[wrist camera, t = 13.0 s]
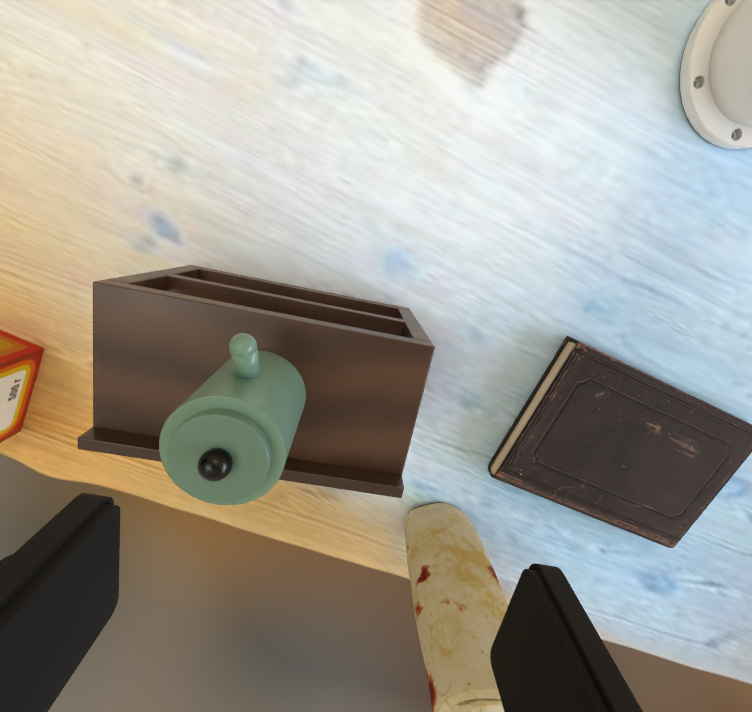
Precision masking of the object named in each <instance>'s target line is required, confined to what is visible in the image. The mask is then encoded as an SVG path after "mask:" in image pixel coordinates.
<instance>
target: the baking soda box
mask: <svg viewBox="0 0 752 712" xmlns="http://www.w3.org/2000/svg"><path fill="white" fill-rule="evenodd" d="M43 351H44V348H42V347H39V346H37V345H35V344H32V343H30V342H27V341H25V340H23V339H20V338H18V337H15V336H13V335H11V334H8V333H6V332H3V331H1V330H0V443H1V442H2V441H4V440H6V439H8V438H9V437H11V436H13V435H15V434H16V433H18V432H20V431H21V428H22V425H23V421H24V418H25V414H26V411H27V407H28V404H29V400H30V397H31V393H32V390H33V386H34V382H35V379H36V375H37V372H38V368H39V365H40V361H41V358H42V354H43Z"/></svg>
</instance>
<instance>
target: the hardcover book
mask: <svg viewBox="0 0 752 712" xmlns="http://www.w3.org/2000/svg"><path fill="white" fill-rule="evenodd" d="M751 452H752V425H751V424H749V423H747V422H745V421H743V420H741V419H739V418H737V417H735V416H732V415H730V414H728V413H726V412H724V411H722V410H720V409H718V408H716V407H714V406H712V405H710V404H708V403H705V402H703V401H701V400H699V399H697V398H695V397H693V396H691V395H689V394H687V393H685V392H683V391H681V390H678V389H676V388H674V387H672V386H670V385H668V384H666V383H664V382H662V381H660V380H658V379H656V378H654V377H651V376H649V375H647V374H645V373H643V372H641V371H639V370H637V369H635V368H633V367H631V366H629V365H627V364H624V363H622V362H620V361H618V360H616V359H614V358H612V357H610V356H608V355H606V354H604V353H602V352H600V351H597V350H595V349H593V348H591V347H589V346H587V345H585V344H583V343H581V342H579V341H577V340H575V339H572V338H570V337H568V336H567V337H566V339H565V340H564V342H563V344H562V345H561V347H560V349H559V350H558V352H557V353H556V355H555V357H554V358H553V360H552V362H551V363H550V365H549V367H548V368H547V370H546V371H545V373H544V375H543V376H542V378H541V380H540V381H539V383H538V384H537V386H536V388H535V389H534V391H533V393H532V394H531V396H530V398H529V399H528V401H527V402H526V404H525V406H524V407H523V409H522V411H521V412H520V414H519V415H518V417H517V419H516V420H515V422H514V424H513V425H512V427H511V429H510V430H509V432H508V433H507V435H506V437H505V438H504V440H503V442H502V443H501V445H500V446H499V448H498V450H497V451H496V453H495V455H494V456H493V458H492V459H491V461H490V463H489V467H488V471H489V473H490V475H491V476H492V477H493V478H495V479H498V480H500V481H503V482H505V483H508V484H510V485H513V486H515V487H518V488H520V489H523V490H525V491H528V492H530V493H533V494H535V495H538V496H540V497H543V498H545V499H548V500H550V501H553V502H555V503H558V504H560V505H563V506H565V507H568V508H570V509H573V510H575V511H578V512H581V513H583V514H586V515H588V516H591V517H593V518H596V519H598V520H601V521H603V522H606V523H608V524H611V525H613V526H616V527H618V528H621V529H623V530H626V531H628V532H631V533H633V534H636V535H638V536H641V537H643V538H646V539H648V540H651V541H653V542H656V543H658V544H661V545H663V546H666V547H669V548H673V547H675V545H676V544H677V543H678V542H679V541H680V539H681V538H682V537H683V536H684V534H685V533H686V532H687V531H688V530H689V528H690V527H691V526H692V525H693V523H694V522H695V521H696V520H697V519H698V517H699V516H700V515H701V514H702V512H703V511H704V510H705V509H706V508H707V506H708V505H709V504H710V503H711V501H712V500H713V499H714V498H715V496H716V495H717V494H718V493H719V492H720V490H721V489H722V488H723V487H724V485H725V484H726V483H727V482H728V481H729V479H730V478H731V477H732V476H733V474H734V473H735V472H736V471H737V470H738V468H739V467H740V466H741V465H742V463H743V462H744V461H745V460H746V459H747V457H748V456H749V455H750V454H751Z"/></svg>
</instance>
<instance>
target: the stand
mask: <svg viewBox="0 0 752 712" xmlns="http://www.w3.org/2000/svg"><path fill="white" fill-rule="evenodd" d="M239 333H247V334H249V335H251V336H252V337H253V338H254V339H255V340H256V343H257V349H258V351H267V352H271V353H274V354H277V355H279V356H281V357H283V358H284V359H286V360H287V361H289V362H290V363H291V364H292V365H293V366H294V367H295V368H296V369H297V371H298V372H299V374H300V375H301V377H302V379H303V382H304V385H305V390H306V401H305V405H304V409H303V412H302V415H301V418H300V421H299V424H298V427H297V430H296V433H295V436H294V439H293V442H292V445H291V448H290V451H289V454H288V457H287V460H286V463H285V466H284V469H283V471H282V474H281V476H280V478H279V479H280V480H286V481H293V482H299V483H306V484H312V485H319V486H326V487H332V488H339V489H345V490H352V491H358V492H365V493H372V494H378V495H385V496H391V497H398V498H401V497H402V494H403V490H404V486H403V480H402V472H403V469H404V465H405V461H406V457H407V453H408V449H409V445H410V441H411V438H412V434H413V430H414V426H415V422H416V418H417V414H418V411H419V407H420V403H421V399H422V395H423V391H424V387H425V383H426V380H427V376H428V372H429V368H430V364H431V360H432V356H433V353H434V349H435V347H434V345H433V344H432V343H431V341H430V339H429V338H428V336H427V335H426V333H425V332H424V330H423V329H422V327H421V326H420V324H419V323H418V321H417V320H416V318H415V317H414V315H413V314H412V312H411V311H410V309H408V308H403V307H398V306H393V305H388V304H383V303H378V302H373V301H368V300H363V299H358V298H353V297H348V296H343V295H338V294H333V293H328V292H323V291H318V290H313V289H308V288H303V287H298V286H293V285H288V284H283V283H278V282H273V281H268V280H263V279H258V278H253V277H248V276H243V275H238V274H233V273H228V272H223V271H218V270H213V269H208V268H203V267H198V266H193V265H189V266H184V267H178V268H172V269H166V270H160V271H153V272H148V273H142V274H136V275H131V276H125V277H119V278H113V279H107V280H101V281H95V282H93V427H92V428H91V429H89V430H88V431H87V432H85V433H84V434H82V435H81V436H80V437H78V449H82V450H89V451H95V452H102V453H108V454H115V455H122V456H128V457H135V458H141V459H148V460H155V461H161V458H160V452H159V439H160V434H161V430H162V428H163V426H164V423H165V422H166V420H167V419H168V417H169V416H170V415H171V414H172V413H173V412H174V411H175V410H176V409H177V408H178V407H179V406H180V405H181V404H182V403H183V402H184V401H185V400H186V399H187V398H188V397H190V396H191V395H192V394H193V393H194V392H195V391H196V390H197V389H198V388H199V387H200V386H201V385H202V384H203V383H205V382H206V381H207V380H208V379H209V378H210V377H211V376H212V375H213V374H214V373H215V372H216V371H217V370H218V369H220V368H221V367H222V366H223V365H224V364H225V363H226V362H227V361H228V360H230V359H231V358H232V357H231V353H230V349H229V343H230V340H231V339H232V338H233V337H234V336H235V335H237V334H239ZM161 462H162V461H161Z"/></svg>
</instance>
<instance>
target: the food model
mask: <svg viewBox="0 0 752 712" xmlns="http://www.w3.org/2000/svg"><path fill="white" fill-rule="evenodd" d="M404 526H405V535H406V548H407V562H408V569H409V575H410V581H411V587H412V594H413V603H414V611H415V617H416V623H417V629H418V634H419V639H420V645H421V649H422V654H423V658H424V662H425V668H426V673H427V677H428V683H429V689H430V696H431V703H432V710H433V712H504V709H503V705H502V702H501V698H500V695H499V691H498V688H497V684H496V681H495V677H494V674H493V670H492V666H491V660H490V652H491V647H492V645H493V642H494V640H495V637H496V635H497V632H498V630H499V628H500V625H501V623H502V620H503V618H504V615H505V613H506V611H507V608H508V604H507V602H506V599H505V597H504V594H503V592H502V589H501V587H500V584H499V582H498V579H497V577H496V574H495V572H494V570H493V568H492V565H491V563H490V561H489V558H488V556H487V553H486V551H485V549H484V546H483V544H482V541H481V539H480V537H479V535H478V533H477V530H476V529H475V527H474V525H473V523H472V522H471V520H470V519H469V518H468V517H467V516H466V515H465V514H464V513H463V511H462V510H461V509H459V508H456V507H454V506H452V505H450V504H445V503H434V504H429V505H425V506H422V507H418V508H415V509H413V510H410V511H409V512H408V514H407V515H406V516H405V518H404Z"/></svg>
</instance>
